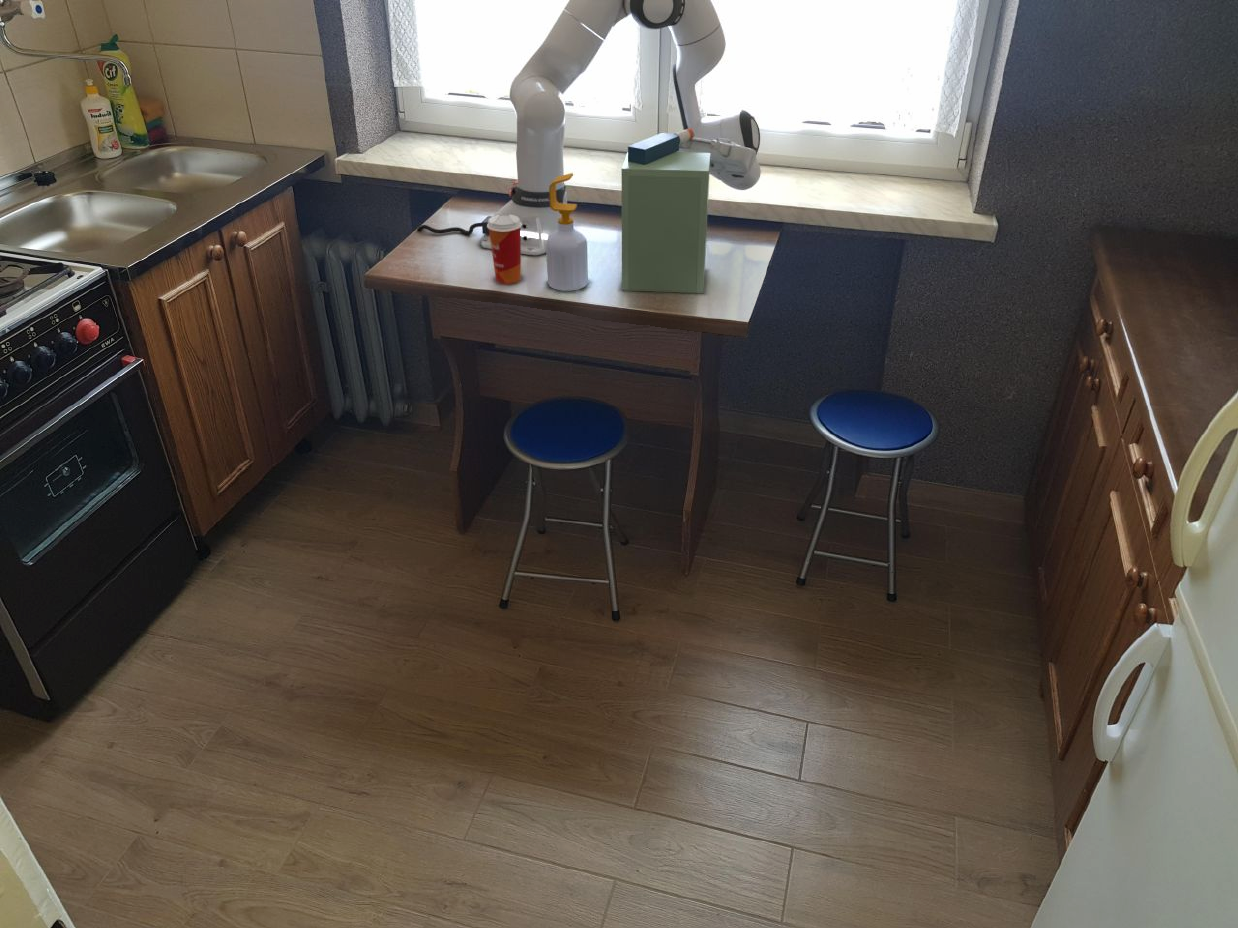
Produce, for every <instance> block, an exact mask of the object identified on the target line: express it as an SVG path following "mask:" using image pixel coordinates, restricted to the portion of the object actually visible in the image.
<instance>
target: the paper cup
mask: <svg viewBox="0 0 1238 928" xmlns="http://www.w3.org/2000/svg"><path fill="white" fill-rule="evenodd" d="M492 216H493V217H491V218H490V219H489V221H488V224H487V228H488V229H489V234H490V241H491V248H492V249H491V254H492V262H493V269H494V275H495V280H496V282H498V283H499V284H504V285H512V284H516V283H518V282H520V281H521V278H522V254H521V226H522V223H521V222H520V219H519V218H518V217H517V216H514V215H509V216H507V215H502V216H499V215H497V216H494V215H492Z"/></svg>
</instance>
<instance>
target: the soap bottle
mask: <svg viewBox="0 0 1238 928" xmlns="http://www.w3.org/2000/svg"><path fill="white" fill-rule="evenodd" d="M573 176H574V173H573V172H570V173H568V174H564V175H562V176H559V177H557V178H556V179H555V180H554V181H553V182H552V183H551V185H550V186H549V196H550V207H551V209H552V210H554V211H559V213H560V214H562V218H559V219H558V230H557V231H555V232H553V233H552V234H551V235H550V236H549V237H548V238H547V242H546V253H545V255H546V271H547V274H546V275H547V285H548V286H549V288H552V289H554V290H557V291H562V292H571V291H572V292H573V291H574V292H575V291H578V290H581V289H583V288H585V287H586V286H587V285H589V284H588V283H589V268H588V267H589V264H588V263H589V261H588V240H587V238H586V236H585V235H584V234H583V233H582V232H580V231H579V230H577V229H575V228H574V226H575V225H574V218H573V217H571V216H570V215H571V214H573V212H575V210H576V209H577V208H578V204H577V203H568V202H567V203H558V201H557V199H556V184H557V183H561V182H564V183H565V182H567V181H569V180H571V179H572V177H573Z"/></svg>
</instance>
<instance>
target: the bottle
mask: <svg viewBox="0 0 1238 928" xmlns="http://www.w3.org/2000/svg"><path fill="white" fill-rule="evenodd" d="M693 137H694V132H693V130H692V129H690V128H688V129H685V130H683V129H682V130H681V131H678V132H672V133H667V132H661V133H658V134H655V135H653V136H650V137H647V138H645V139H643V140H640V141H638V142H635V143H632V144H630V145H628V146H627V152H628V162H633V163H638V164H642V165H646V164H649V163H651V162H653V161H656V160H658V159H660V158H663V157H665V156H667V155H670V154H672V153H674V152H677V151H679V144H681V143H683V142H686V141H688V140H691V139H692V138H693Z"/></svg>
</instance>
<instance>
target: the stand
mask: <svg viewBox="0 0 1238 928" xmlns="http://www.w3.org/2000/svg"><path fill="white" fill-rule="evenodd" d="M710 175H711V174H710V153H691V152H674V153H672V154H670V155H667V156H665V157H663V158H660V159H658V160H656V161H653V162H651V163H649V164H646V165H642V164H638V163H633V162H628V151H627V152H626V155H625V157H624V160H623V164H622V166H621V291H633V292H657V293H659V292H661V293H685V294H704V284H705V272H706V255H707V233H708V215H709V214H708V213H709V194H710V193H709V192H710V191H709V190H710Z"/></svg>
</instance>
